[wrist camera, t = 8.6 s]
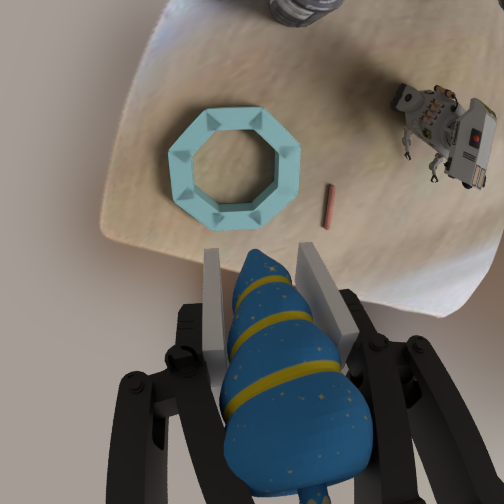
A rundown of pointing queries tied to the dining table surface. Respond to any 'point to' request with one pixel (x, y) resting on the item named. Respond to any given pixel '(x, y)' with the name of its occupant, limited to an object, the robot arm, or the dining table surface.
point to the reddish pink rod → (329, 207)
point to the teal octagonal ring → (238, 213)
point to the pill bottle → (301, 10)
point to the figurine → (449, 131)
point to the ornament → (287, 393)
